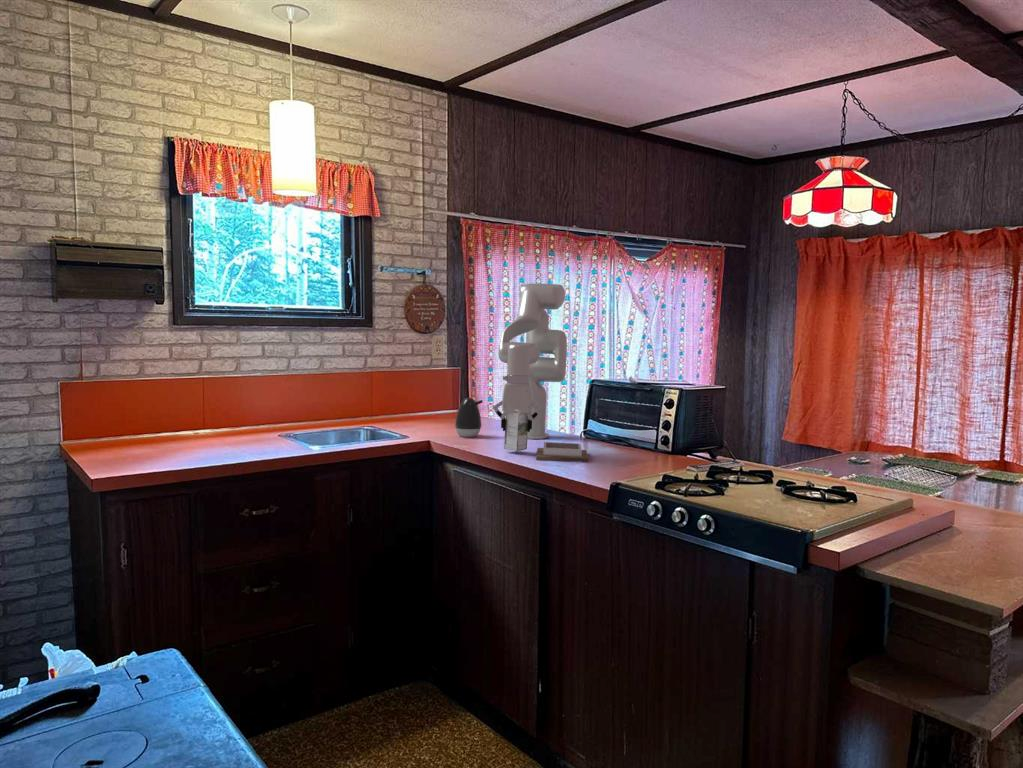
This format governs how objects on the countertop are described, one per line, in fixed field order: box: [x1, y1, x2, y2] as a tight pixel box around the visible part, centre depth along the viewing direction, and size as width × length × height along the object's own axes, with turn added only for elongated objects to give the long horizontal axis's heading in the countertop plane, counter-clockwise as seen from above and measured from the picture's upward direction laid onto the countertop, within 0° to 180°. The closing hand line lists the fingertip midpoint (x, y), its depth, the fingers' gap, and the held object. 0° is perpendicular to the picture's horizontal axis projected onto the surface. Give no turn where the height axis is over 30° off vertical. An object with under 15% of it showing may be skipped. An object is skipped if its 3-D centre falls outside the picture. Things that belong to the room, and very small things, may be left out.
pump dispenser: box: [454, 397, 484, 438], centre depth 287 cm, size 10×10×15 cm
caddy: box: [535, 441, 589, 463], centre depth 251 cm, size 17×17×4 cm
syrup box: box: [503, 409, 528, 452], centre depth 255 cm, size 6×6×14 cm
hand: (516, 430), depth 255 cm, fingers closed on syrup box, 8 cm apart
